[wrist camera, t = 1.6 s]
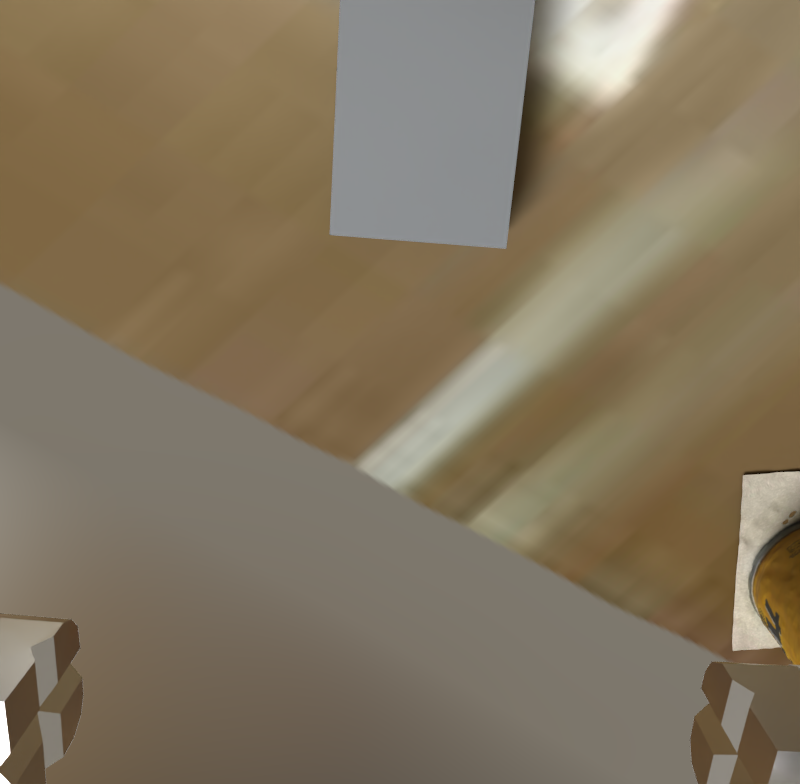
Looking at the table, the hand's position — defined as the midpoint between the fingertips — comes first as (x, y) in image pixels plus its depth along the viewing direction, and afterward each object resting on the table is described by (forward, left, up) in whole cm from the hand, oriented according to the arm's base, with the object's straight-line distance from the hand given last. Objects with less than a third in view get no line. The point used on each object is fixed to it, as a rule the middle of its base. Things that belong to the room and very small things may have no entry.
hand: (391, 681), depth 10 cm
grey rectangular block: (0, -8, -20) cm, 22 cm away
